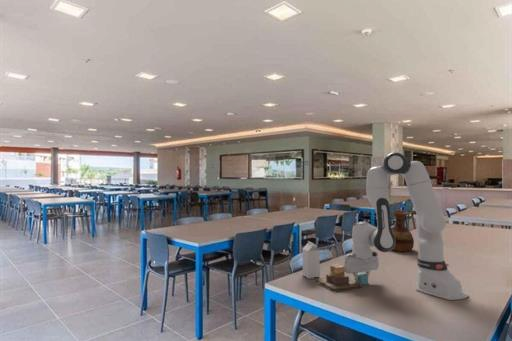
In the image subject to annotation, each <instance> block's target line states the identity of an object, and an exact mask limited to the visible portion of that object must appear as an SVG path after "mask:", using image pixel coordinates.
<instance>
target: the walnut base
mask: <svg viewBox="0 0 512 341" xmlns="http://www.w3.org/2000/svg"><path fill="white" fill-rule="evenodd" d="M317 282H318V283H320V284H322V285H323V287H324V286H325V288H326V287H327V288H326V289H328V288H329V289H328V290H330V289H331V290H330V291H332V292H333V291H336V292H341V291H347V290H352V289H353V290H355V289H359V288H361V286H362V285H361V284H359V283H356V282H355V280H352V279H350V277H349V276H347V275H345V276H344V277H338V278H336V277H334V276H332V275H330V273H327V274H326V276H325V277H321V278H320V277H319V278H315V283H317ZM318 283H317V284H318ZM320 284H319V285H320ZM322 285H321V286H322Z"/></svg>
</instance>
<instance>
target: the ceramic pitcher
mask: <svg viewBox="0 0 512 341" xmlns="http://www.w3.org/2000/svg"><path fill="white" fill-rule="evenodd" d="M392 214H394V216H395V223H394V226H391V229H392V233H393V235H394V237H395V240H396V244H395V247H394V248H393V249H392V250H395V251H397V250H398V251H397V252H408V251H411V250H413V248H414V246H415V244H414V243H415V242H414V240H415V239H414V237H413V234H412V233H411V231H410V229H409V228H408V227H406V226H405V218H406V216H407V215H408V214H409V212H408V211H406V210H393V211H392Z"/></svg>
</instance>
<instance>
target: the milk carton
mask: <svg viewBox="0 0 512 341" xmlns="http://www.w3.org/2000/svg"><path fill="white" fill-rule="evenodd" d="M320 254H321V253H320V249H318V247H317V244H315V243H314V242H311V241H309V240H307V243H306V244H305V245H304V246H303V247H302V276H303V277H305V276H306V277H307V278H306V277H305V278H306V279H308V278H309V279H315V278H314V277H319V278H320V276H321V275H320V274H321V272H320V271H321V268H320V264H321V263H320V261H321V260H320V257H321V256H320Z"/></svg>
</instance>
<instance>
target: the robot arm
mask: <svg viewBox="0 0 512 341" xmlns="http://www.w3.org/2000/svg"><path fill="white" fill-rule="evenodd" d="M393 175H402V177H403V178H404V181H405V184H406V188H407V192H408V194H409V198H410V200H411V203H412V206H413V208H414V212H415V214H416V215H415V220H416V234H417V253H418V254H417V256H418V257H417V263H416V264H417V276H416V277H417V278H416V282H415V286H414V287H415V288H416V291H417V292H421V293H425V294H428V295H431V296H435V297H438V298H442V299H445V300H448V301H449V300H452V301H455V300H463V299H466V298H468V297H469V294H468V293H467V291H463V289H462V284H461V281H460V280H459V279H458V278H457V277H456V276H455V275H454V274H453V273H452V272H450V270H448V267H449V266H450V263H446V261H445V260H444V257H445V254H444V240H443V234H442V231H444V230H445V228H446V225H447V223H446V221H447V220H446V218H445V216H444V213H443V210H442V208H441V205H440V203H439V200H438V198H437V196H436V194H435V190H434V187H433V184H432V182H431V178H430V175H429V173H428V171H427V169H426V166H425V165H424V163H422V162H421V161H419V160H413V161H410V160H409V159H408V158H407V157H406V156H405V155H404V154H403V153H400V152H395V151H394V152H390V153H388V154H386V155H385V157H383V160H382V162H381V164H380V165H379V166H373V167H370V168H369V169H368V171H367V175H366V182H365V183H366V184H365V193H366V198H367V202H368V203H370V205H371V206H372V208H373V210H374V211H375V214H376V223H377V226H374V225H372V224H371V223H369V222H368V221H358V222H355V223H354V224H353V225H352V229H351V230H352V231H351V233H352V234H351V239H352V247H351V248H352V251H351V252H352V253H351V254H347V255H346V256H345V257H344V263H343V266H344V273H346V274H350V275H351V274H352V275H353V277H354V282H355V281H359V277H358V276H357V274H358V273H364V272H365V274H367V275H368V277H369V276H370V274H371V271H378V270H379V264H380V263H379V262H380V261H379V257H378V256H379V252H382V253H388V252H391V251H392V250H394V249H393V248H394V247H395V244H396V240H395V237H394V235H393V233H392V229H391V228H392V223H391V222H392V220H391V210H390V198H389V197H390V195H389V194H390V189H389V184H390V183H389V180H390V177H391V176H393ZM371 247H375V249H376V250H378V251H379V252H377V251H374V250H372V249H371Z"/></svg>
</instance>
